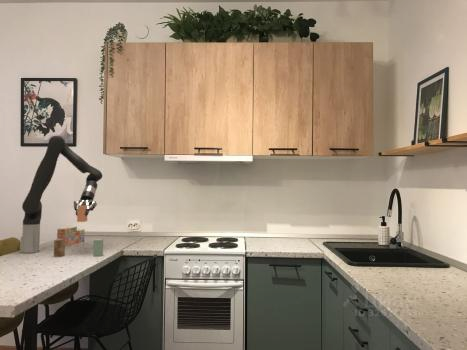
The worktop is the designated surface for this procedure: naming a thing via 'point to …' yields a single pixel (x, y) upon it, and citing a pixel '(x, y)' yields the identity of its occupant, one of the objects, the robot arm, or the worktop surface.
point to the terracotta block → (81, 214)
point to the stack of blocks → (71, 235)
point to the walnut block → (59, 247)
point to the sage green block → (98, 247)
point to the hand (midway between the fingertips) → (81, 214)
